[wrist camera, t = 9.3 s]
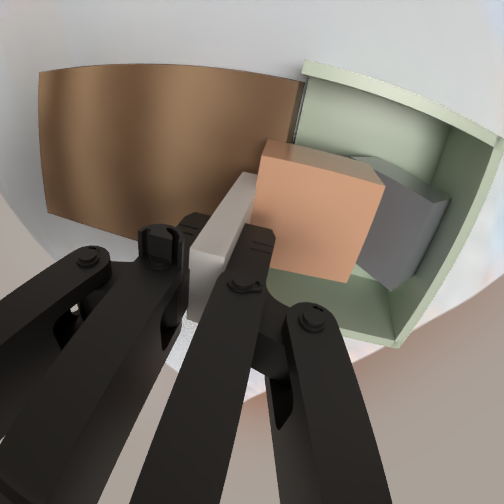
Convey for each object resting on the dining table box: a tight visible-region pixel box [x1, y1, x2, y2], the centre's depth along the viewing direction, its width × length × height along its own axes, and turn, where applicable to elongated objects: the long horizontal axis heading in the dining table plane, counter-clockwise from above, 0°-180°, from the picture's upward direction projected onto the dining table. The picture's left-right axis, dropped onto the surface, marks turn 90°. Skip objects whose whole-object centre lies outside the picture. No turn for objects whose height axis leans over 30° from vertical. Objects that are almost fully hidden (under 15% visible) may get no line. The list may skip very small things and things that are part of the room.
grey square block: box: [349, 156, 451, 292], centre depth 15 cm, size 5×5×3 cm
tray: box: [266, 59, 504, 349], centre depth 15 cm, size 9×13×6 cm
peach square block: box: [250, 139, 386, 283], centre depth 14 cm, size 5×5×3 cm
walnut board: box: [38, 64, 305, 241], centre depth 17 cm, size 17×11×4 cm, turn 80°
